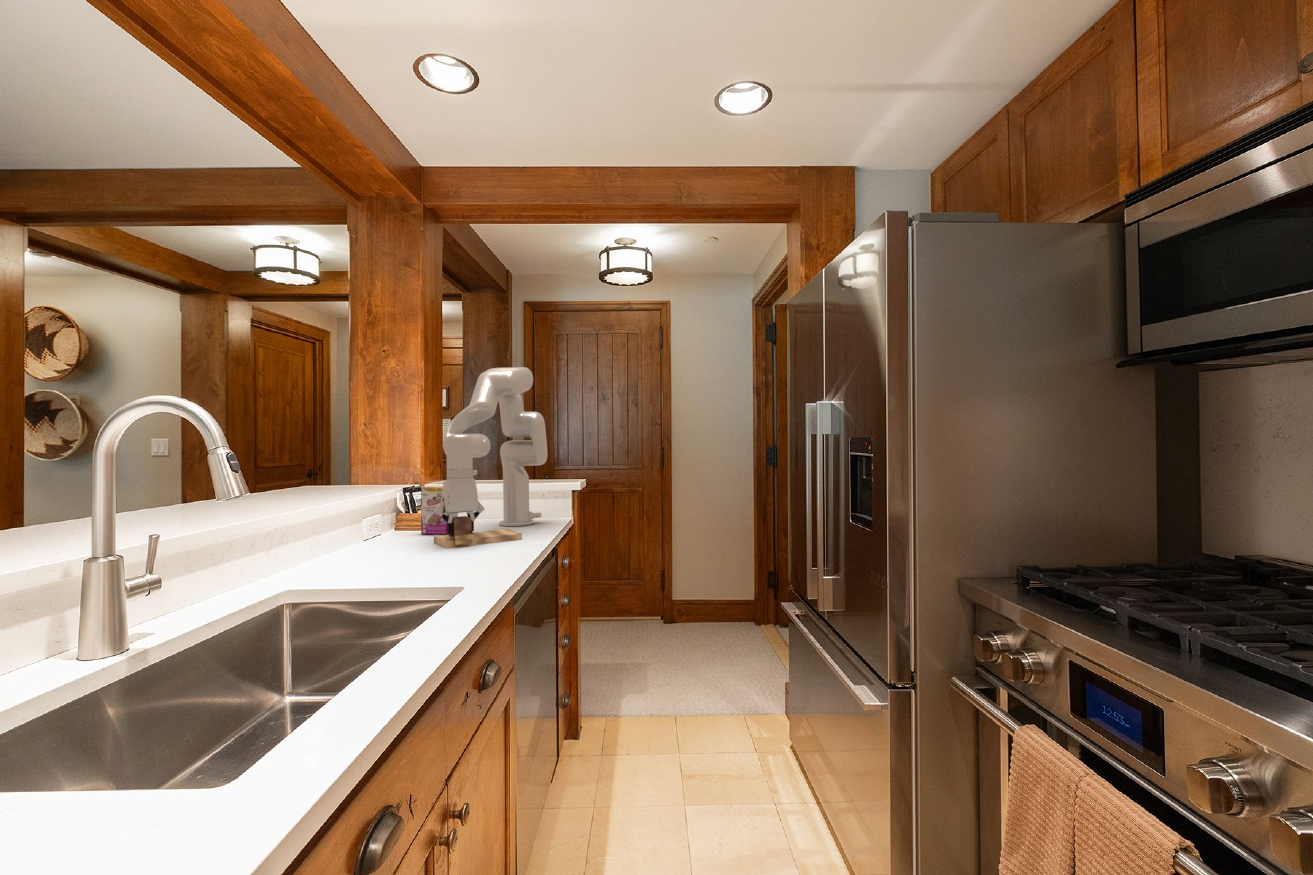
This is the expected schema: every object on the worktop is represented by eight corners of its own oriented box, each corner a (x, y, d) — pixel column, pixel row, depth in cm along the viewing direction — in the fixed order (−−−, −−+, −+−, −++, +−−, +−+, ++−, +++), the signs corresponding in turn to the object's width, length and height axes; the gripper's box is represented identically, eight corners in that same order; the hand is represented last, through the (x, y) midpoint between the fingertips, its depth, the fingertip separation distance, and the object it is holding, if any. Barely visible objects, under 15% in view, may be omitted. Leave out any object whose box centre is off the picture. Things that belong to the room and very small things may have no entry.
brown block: (465, 540, 189) (465, 516, 189) (472, 542, 184) (472, 517, 184) (449, 542, 186) (449, 517, 186) (456, 544, 181) (455, 519, 181)
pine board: (506, 534, 204) (506, 528, 204) (521, 539, 195) (521, 533, 195) (433, 542, 190) (433, 536, 190) (445, 548, 181) (445, 541, 181)
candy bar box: (420, 535, 206) (420, 486, 206) (427, 532, 211) (427, 485, 211) (452, 535, 205) (451, 486, 205) (458, 533, 210) (458, 485, 210)
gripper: (482, 473, 193) (483, 530, 193) (427, 475, 183) (428, 536, 183) (491, 474, 187) (492, 533, 187) (434, 476, 177) (435, 539, 177)
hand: (460, 534), depth 185 cm, fingers closed on brown block, 5 cm apart
